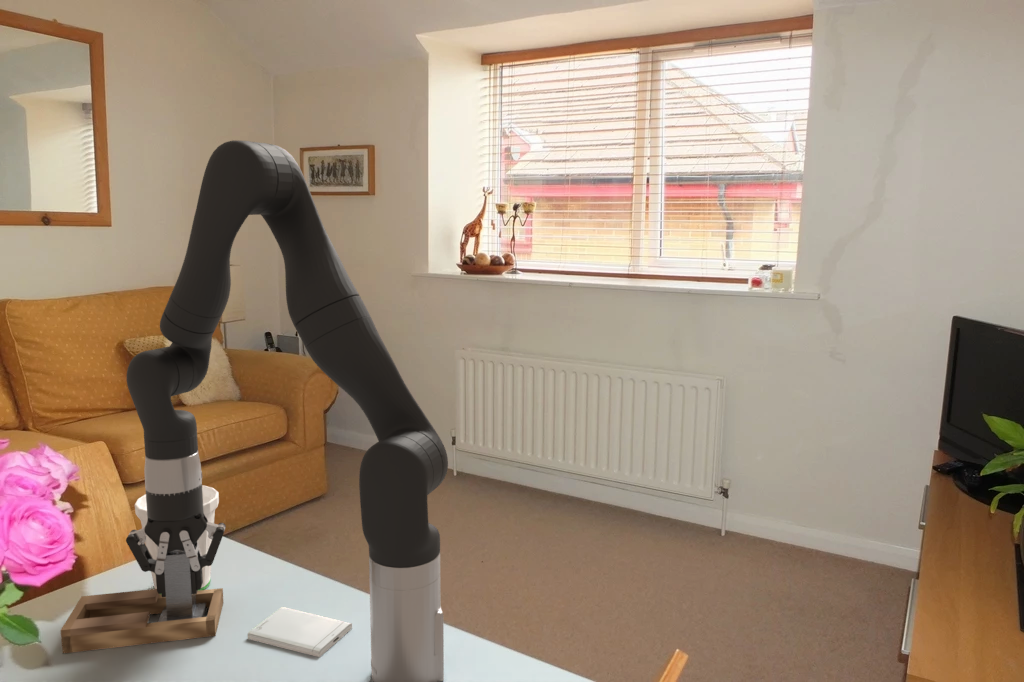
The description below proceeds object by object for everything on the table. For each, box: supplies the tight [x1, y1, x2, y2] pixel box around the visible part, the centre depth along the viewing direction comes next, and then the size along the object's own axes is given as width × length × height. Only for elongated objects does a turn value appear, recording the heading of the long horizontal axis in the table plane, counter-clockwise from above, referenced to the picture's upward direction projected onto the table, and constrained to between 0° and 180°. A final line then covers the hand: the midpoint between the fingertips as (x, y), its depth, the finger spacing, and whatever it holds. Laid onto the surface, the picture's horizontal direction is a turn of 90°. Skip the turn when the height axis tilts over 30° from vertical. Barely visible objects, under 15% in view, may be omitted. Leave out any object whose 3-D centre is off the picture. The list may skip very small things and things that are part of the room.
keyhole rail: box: [60, 587, 225, 654], centre depth 112 cm, size 20×10×4 cm, turn 104°
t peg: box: [157, 550, 208, 622], centre depth 113 cm, size 6×6×11 cm
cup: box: [134, 484, 220, 594], centre depth 124 cm, size 12×12×15 cm
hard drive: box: [247, 606, 353, 658], centre depth 111 cm, size 2×8×12 cm
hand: (180, 592), depth 113 cm, fingers closed on t peg, 3 cm apart
